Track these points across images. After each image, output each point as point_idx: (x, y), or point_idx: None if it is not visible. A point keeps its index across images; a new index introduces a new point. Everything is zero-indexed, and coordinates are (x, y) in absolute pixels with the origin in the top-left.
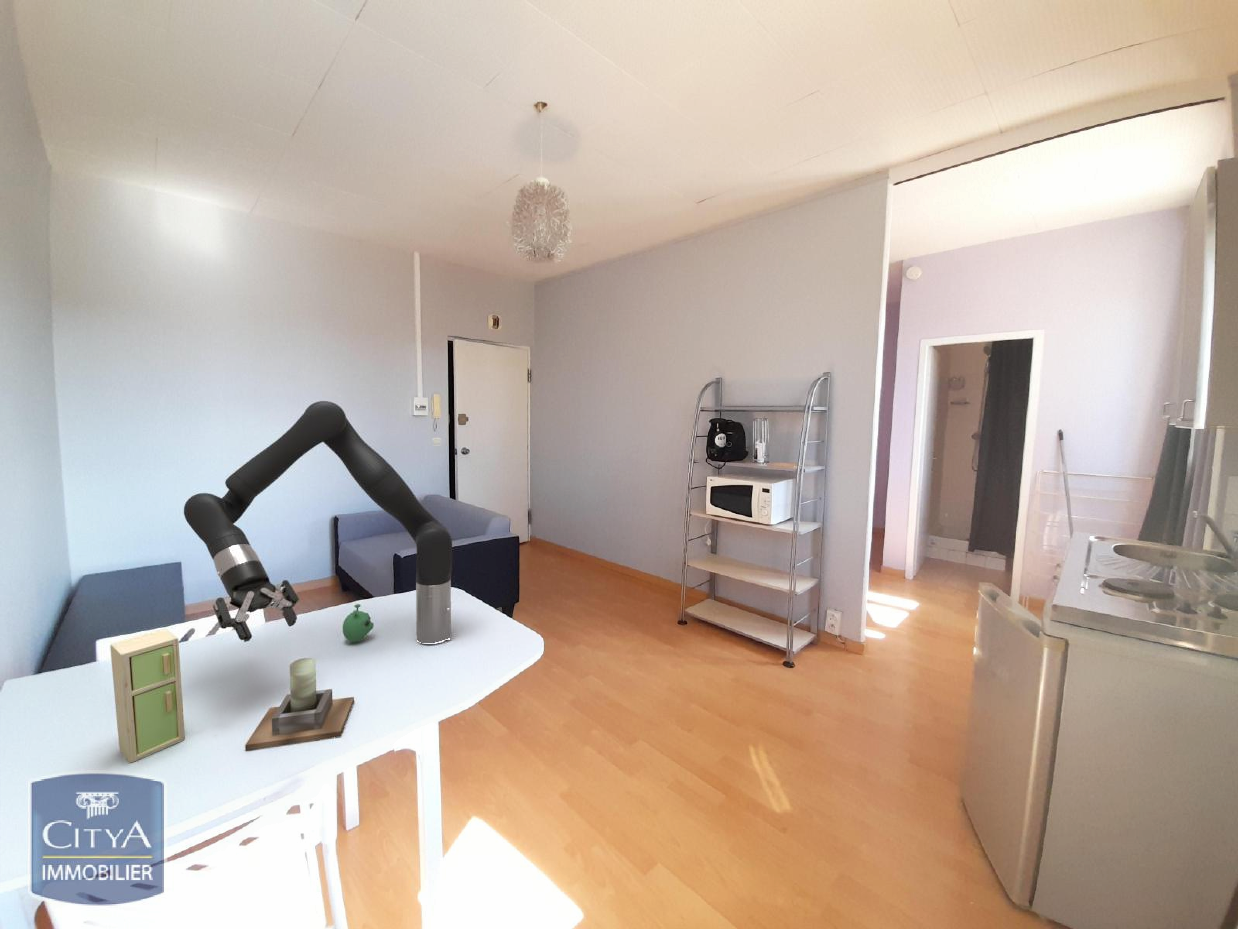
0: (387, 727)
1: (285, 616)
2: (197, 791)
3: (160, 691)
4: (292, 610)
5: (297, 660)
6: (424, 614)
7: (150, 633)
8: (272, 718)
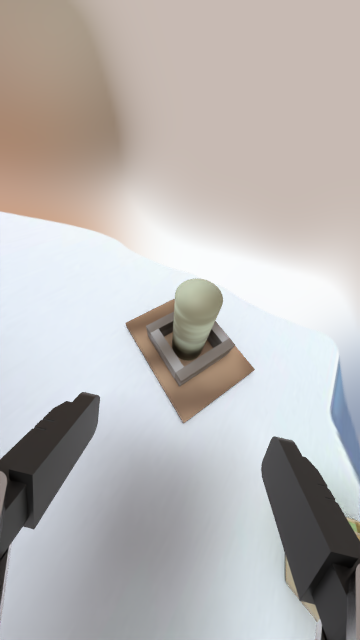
0: (160, 266)
1: (60, 474)
2: (309, 359)
3: None
4: (19, 447)
5: (194, 315)
6: None
7: None
8: (234, 344)
